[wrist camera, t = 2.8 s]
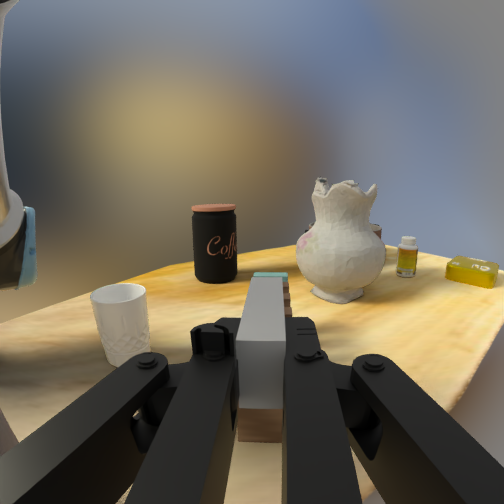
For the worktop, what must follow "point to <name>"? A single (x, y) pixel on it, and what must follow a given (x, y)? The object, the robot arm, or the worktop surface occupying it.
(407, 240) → the supplement bottle
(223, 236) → the coffee jar
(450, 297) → the worktop surface
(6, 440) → the pillar candle
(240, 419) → the domino
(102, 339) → the white cup
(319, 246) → the ceramic pitcher
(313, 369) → the robot arm
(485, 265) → the element tile
